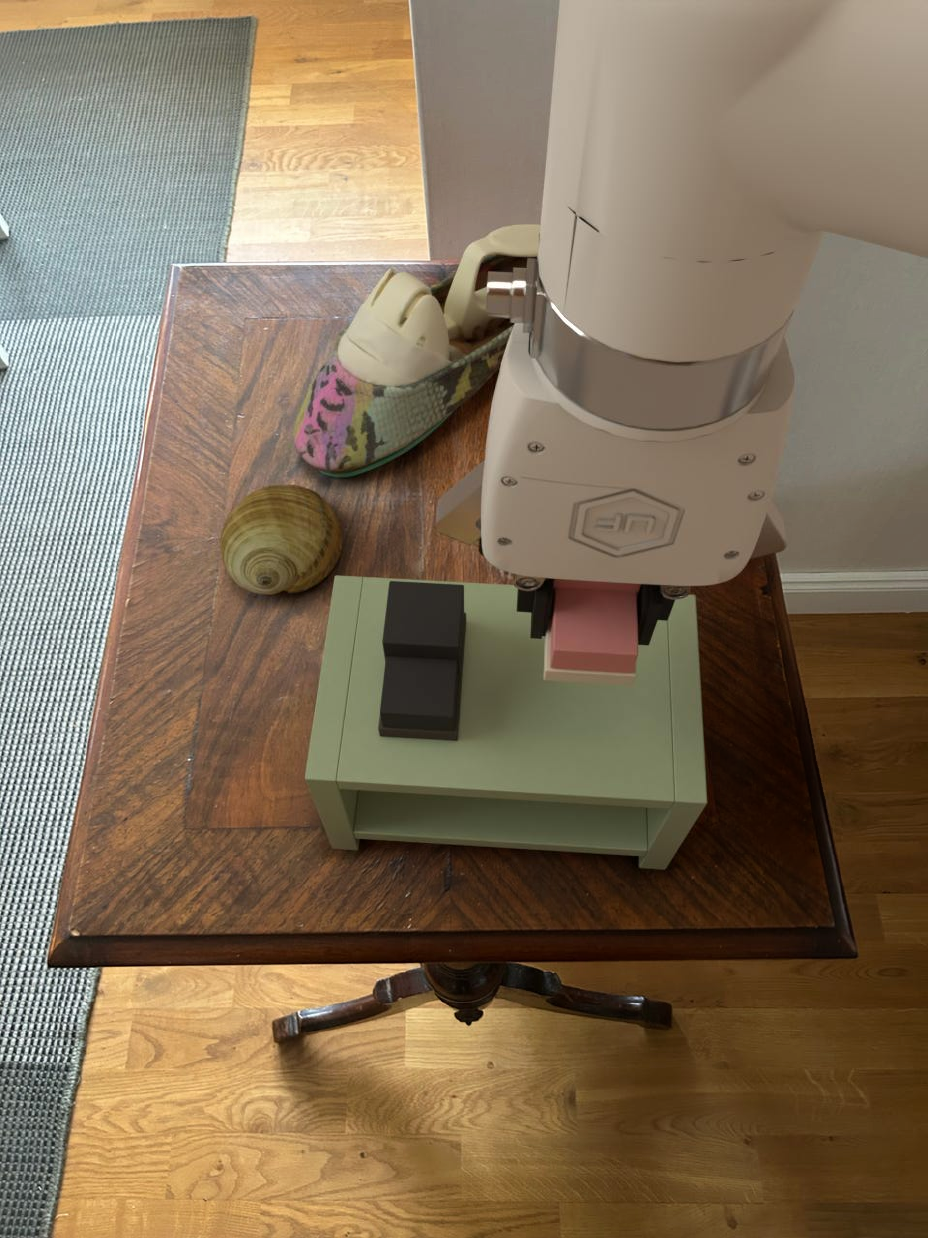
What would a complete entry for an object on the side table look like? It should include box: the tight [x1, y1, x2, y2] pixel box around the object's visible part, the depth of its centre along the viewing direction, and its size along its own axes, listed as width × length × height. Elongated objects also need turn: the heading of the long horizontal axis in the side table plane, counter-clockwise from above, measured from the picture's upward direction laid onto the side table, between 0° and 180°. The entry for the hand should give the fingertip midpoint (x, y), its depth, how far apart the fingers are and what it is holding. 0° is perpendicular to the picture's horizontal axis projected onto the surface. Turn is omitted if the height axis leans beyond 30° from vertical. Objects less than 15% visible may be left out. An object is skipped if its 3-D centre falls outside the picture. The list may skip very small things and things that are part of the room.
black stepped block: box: [378, 581, 466, 741], centre depth 51 cm, size 7×4×4 cm, turn 176°
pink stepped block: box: [544, 579, 641, 686], centre depth 45 cm, size 7×4×4 cm, turn 176°
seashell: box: [219, 484, 343, 596], centre depth 69 cm, size 10×7×8 cm
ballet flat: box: [294, 221, 541, 478], centre depth 75 cm, size 10×30×11 cm, turn 129°
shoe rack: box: [304, 575, 708, 871], centre depth 58 cm, size 20×12×12 cm, turn 86°
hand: (589, 612), depth 46 cm, fingers closed on pink stepped block, 4 cm apart
